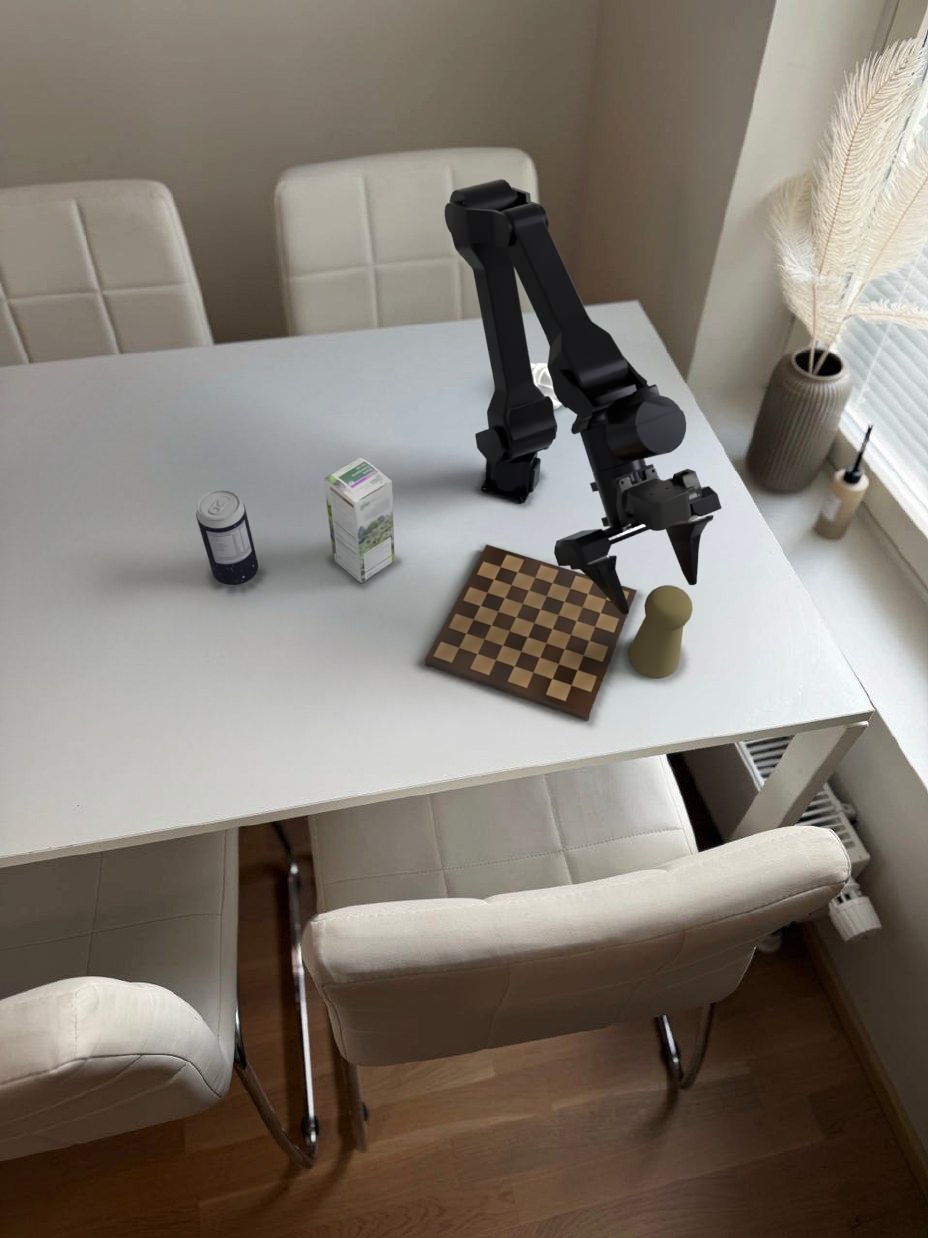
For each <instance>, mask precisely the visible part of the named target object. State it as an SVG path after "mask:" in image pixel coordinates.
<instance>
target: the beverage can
mask: <svg viewBox="0 0 928 1238" xmlns="http://www.w3.org/2000/svg"><path fill="white" fill-rule="evenodd" d="M195 518H196V521H197V526H198V529H199V532H200V535H201V539H202V541H203V545H204V548H205V549H204V550H205V552H206V556H207V559H208V562H209V566H210V569H211V573H212V576H213V577H214V579H215V580H216V581H217V582H218V583H220V584H223V585H225V586H235V587H236V586H241V585H244V584H246V583H248V582H249V581H251V580H252V579H253V578H254V577H255V576H256V575H257V573H258V570H259V562H258V556H257V552H256V549H255V544H254V539H253V536H252V530H251V527H250V523H249V522H250V521H249V517H248V514H247V509H246V505H245V504H244V503H243V501H242V500H241V499H240V497H239V495H237V494H236V493H235V492H234V491H230V490H227V489H218V490H213V491H209V492H207V493H206V494H204V495H203V496H201V498H200V499H199V500H198V502H197V509H196V512H195Z"/></svg>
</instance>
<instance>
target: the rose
mask: <svg viewBox="0 0 928 1238" xmlns="http://www.w3.org/2000/svg"><path fill="white" fill-rule="evenodd" d="M530 364H531V370H532V376H533V381H534V384H535V385H536V386H537V387H538V389H539V390H540V391H541V392H542V393H543V394H544V395H545V396H549V397H550V398H551V400H552V401H553V409H554V410H558V409H559V408H560V407H561V406H563V405H562V404H561V403H560V402H559V401H558V399H557V397H556V395H555V393H554V390H553V384H552V379H551V377H550V374H549V371H548V368H547V365H548V363H546V362H537V363H533V362H530Z"/></svg>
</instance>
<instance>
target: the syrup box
mask: <svg viewBox="0 0 928 1238" xmlns="http://www.w3.org/2000/svg"><path fill="white" fill-rule="evenodd" d="M323 483H324V494H325V502H326V509H327V518H328V519H327V520H328V525H329V527H328V528H329V534H330V542H331V552H332V560H333V561H334V562H335V563H336V564H337V565H339V566H340V567H341V568H342V569H344V570H345V571H346V572H347V573H348V574H349V575H350V576H352V577H353V578H354V579H356V580H357V581H358V582H359V583H361V584H364V583H366V582H367V581H368V580H370V579H372V578H373V577H374V576H376V575H378V574H379V573H380V572H381V571H383V570H384V569H386V568H388V567H389V566H390V565H392V564H394V563H395V561H396V557H395V556H396V555H395V554H396V553H395V532H394V531H395V529H394V527H395V525H394V503H393V502H394V501H393V481H392V480H391V479H390V478H389V477H387V475H385V474H384V473H383V472H382V471H381V470H379V469H378V468H376V466H374V465H373V464H372V463H370V462H369V461H367V460H366V459H364V458H363V457H361V456H359V457H358V458H357V459H355V460H353V461H352V462H349V463H348V464H346V465H345V466H342V468H340V469H338V470H336V471H335V472H333V473H332V474H330V475H328V476H326V477H324V478H323Z"/></svg>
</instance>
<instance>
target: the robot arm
mask: <svg viewBox="0 0 928 1238" xmlns="http://www.w3.org/2000/svg"><path fill="white" fill-rule="evenodd" d="M531 198H532V197H531V193H530V192H528V191H525V190H522V189H520V188H516V187H514V186H511V185H510V183H509V182H508V181H507V180H506V179H503V178H500V179H499V178H498V179H495V180H491V181H486V182H483V183H479V184H475V185H471V186H467V187H462V188H458V189H455V190H453V191H452V192H451V194H450V196H449V202H447V203H446V204H445V206H444V220H445V224H446V227H447V229H448V232H449V233H450V234H451V239H452V242H453V246H454V250H456V251H457V253H458V254H459V256H461V258H462V259H463V260H464V261H465V263H467V264H468V266H469V267H470V268H471V269H472V274H473V278H474V282H475V288H476V293H477V299H478V304H479V309H480V310H479V311H480V314H481V321H482V326H483V331H484V332H483V333H484V337H485V342H486V346H487V347H486V348H487V353H488V359H489V363H490V369H491V374H492V375H491V376H492V380H493V384H494V390H493V393H492V396H491V398H490V402H489V404H488V407H487V410H486V417H487V418H486V419H487V429H484V430H481V431H479V432H476V433H475V434H474V437H475V444H476V449H477V450H478V451H479V452H480V453H481V455H482V456H483V457H484V458H485V476H484V477H485V478H484V480H483V482H482V484H481V485H480V491H481V492H483V493H485V494H488V495H491V496H496V497H499V498H502V499H506V500H509V501H512V502H516V503H520V504H525V503H526V502H527V500H528V498H529V496H530V494H531V493H534V491H535V489H536V487H537V486H538V483H539V481H540V472H541V462H542V459H541V458H540V457H538V454H539V452H541V451H546V450H548V449H549V448H550V446H552V444H553V443H554V440H556V439H557V432H558V422H557V419H556V417H555V411H554V410H555V409H553V401H552V400H551V398H550V397H549V396H545V395H544V394H543V393H542V392H541V391H540V390H539V389H538V387H537V386H536V385H535V384H534V381H533V376H532V370H531V364H530V363H531V359H530V354H529V348H528V341H527V335H526V329H525V323H524V317H523V311H522V306H521V299H520V294H519V293H520V292H519V287H518V281H517V276H518V279H519V281H520V283H521V285H522V287H523V289H524V292H525V295H526V296H527V299H528V300H529V302H530V305H531V307H532V310H533V311H534V313H535V316H536V317H537V320H538V322H539V324H540V326H541V329H542V330H543V333H544V335H545V338H546V340H547V343H548V346H549V351H548V358H547V364H548V365H547V368H548V371H549V374H550V377H551V379H552V384H553V390H554V393H555V395H556V397H557V399H558V401H559V402H560V403H561V404H562V405H561V406H563V407H564V408H565V409H568V410H570V411H571V412H572V413H574V414H575V415H576V417H575V420H574V422H573V423H572V425H571V428H570V432H571V434H572V435H578V434H580V438H581V441H582V444H583V447H584V450H585V453H586V457H587V459H588V463H589V466H590V469H591V472H592V475H593V478H594V481H593V482H590V483H589V485H590V489H591V491H592V492H593V493H595V492H598V495H599V497H600V501H601V504H602V507H603V511H604V513H605V516H603V517H601V518H600V519H601V523H602V526H603V527H604V528H605V529H603V528H594V529H585V530H580V531H578V532H575V533H573V534H570V535H567V536H565V537H563V538H560V539H558V540H556V541H555V544H554V550H553V554H554V556H555V557H554V558H555V560H556V564H557V566H559V567H569V568H570V570H572V571H575V570H580V571H581V572H582V574H585V575H586V576H588V577H589V578H590V579H591V580H592V581H593V582H594V583H595V584H596V585H597V586H598V587H599V588H600V589H601V590H602V592H603V593H604V594H605V595H606V596H607V597H608V599H609V600H610V601H611V602H612V603H613V604H614V605H615V607H616V608H617V609H618V610H619V611H620V612H621V613H622V614H624V615H627V614H630V612H629V609H628V604H627V600H626V597H625V594H624V592H623V589H622V586H623V585H622V584H621V581H620V578H619V576H618V573H617V560H618V559H617V555H609V553H610V549H611V547H612V545H614V544H617V543H620V542H622V541H624V540H628V539H630V538H632V537H634V536H637V535H640V534H642V533H644V532H646V531H650V530H651V531H654V532H661V531H664V530H665V532H666V534H667V536H668V539H669V542H670V544H671V547H672V550H673V552H674V555H675V557H676V559H677V562H678V564H679V565H678V566H679V568H680V570H681V572H682V574H683V576H684V578H685V580H686V582H687V584H688V585H689V586H695V585H697V583H698V570H699V554H700V553H699V552H700V543H701V537H702V534H703V532H704V531H705V530H704V529H705V528H706V527H707V525H708V523H710V522H712V521H713V520H714V514H712V513H714V512H717V511H719V510H721V509H722V505H721V502H720V501H721V500H720V499H719V493H717V492H716V491H715V490H714V489H713V488H711V487H710V486H709V485H707V486H706V485H705V486H702V485H701V483H700V480H699V478H698V474H697V472H696V471H695V470H693V469H690V468H685V469H683V470H679V471H678V472H675V473H674V474H673V475H672V477H669V478H667V479H661V477H660V476H659V475H658V471H657V468H656V467H655V465H654V463H651V464H647V463H646V460H645V459H648V458H653V457H657V456H662V455H667V454H670V453H672V452H674V451H675V450H676V449H678V448H679V446H680V445H681V444H682V443H683V441H684V439H685V436H686V432H687V420H686V415H685V412H684V410H682V409H681V408H680V406H679V405H678V404H677V402H675V401H674V400H673V399H672V398H669V397H668V396H665V395H661V394H660V391H659V387H658V385H657V384H655V383H654V384H651V385H649V384H648V380H647V379H646V378H645V377H643V376H642V375H641V374H640V373H639V372H638V371H637V370H636V369H635V368H634V366H633V365H632V363H630V362H629V360H628V359H627V358H626V357H625V355H623V353H622V351H621V349H620V348H619V346H618V345H617V343H616V341H615V340H614V338H613V336H612V335H611V333H610V332H608V331H607V330H605V329H604V328H602V327H601V326H599V325H598V324H597V323H596V322H593V320H592V319H591V317H590V316H589V314H588V312H587V310H586V308H585V306H584V303H583V301H582V299H581V297H580V295H579V292H578V291H577V289H576V286H575V284H574V282H573V280H572V277H571V276H570V273H569V271H568V269H567V267H566V264H565V263H564V261H563V258H562V256H561V254H560V252H559V250H558V247H557V245H556V243H555V240H554V239H553V237H552V234H551V232H550V231H549V218H548V214H547V212H546V210H545V208H544V207H543V206H542V205H541V204H539V203H537V202H534V201H532V199H531ZM516 274H517V276H516Z"/></svg>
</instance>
